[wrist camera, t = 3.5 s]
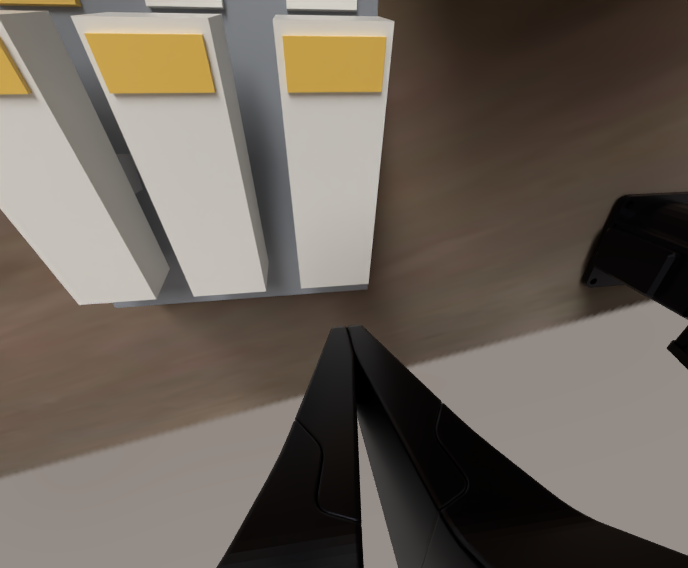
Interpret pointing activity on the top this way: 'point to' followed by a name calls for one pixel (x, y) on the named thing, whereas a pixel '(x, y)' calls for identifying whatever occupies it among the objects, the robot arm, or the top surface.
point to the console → (256, 113)
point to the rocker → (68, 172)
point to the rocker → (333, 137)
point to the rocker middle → (184, 138)
